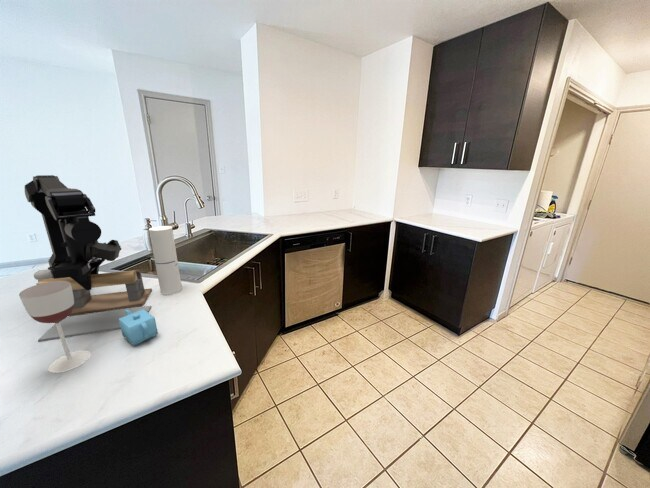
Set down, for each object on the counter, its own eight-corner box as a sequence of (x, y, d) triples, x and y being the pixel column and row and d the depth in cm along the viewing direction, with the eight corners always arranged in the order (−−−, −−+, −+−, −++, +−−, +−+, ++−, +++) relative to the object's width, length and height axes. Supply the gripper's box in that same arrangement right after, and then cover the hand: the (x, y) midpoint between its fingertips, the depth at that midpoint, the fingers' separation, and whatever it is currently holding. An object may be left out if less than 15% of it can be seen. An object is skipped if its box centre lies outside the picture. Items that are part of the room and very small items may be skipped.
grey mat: (62, 319, 79) (61, 317, 79) (151, 307, 87) (151, 305, 87) (38, 341, 70) (37, 339, 69) (141, 325, 77) (141, 323, 77)
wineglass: (53, 379, 58) (24, 301, 52) (42, 363, 62) (14, 290, 56) (97, 358, 64) (76, 287, 58) (84, 345, 69) (63, 277, 63)
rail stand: (80, 299, 91) (73, 273, 88) (152, 290, 98) (147, 266, 95) (60, 317, 80) (51, 289, 77) (142, 306, 88) (136, 279, 85)
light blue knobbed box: (118, 333, 74) (112, 311, 71) (142, 323, 78) (137, 302, 76) (136, 350, 67) (130, 326, 65) (161, 338, 72) (156, 315, 70)
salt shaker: (50, 311, 83) (37, 275, 79) (36, 309, 84) (23, 273, 80) (70, 302, 89) (59, 268, 85) (57, 300, 90) (46, 266, 86)
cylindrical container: (156, 292, 97) (144, 229, 90) (173, 284, 103) (163, 225, 96) (169, 296, 95) (158, 231, 87) (186, 288, 101) (176, 227, 93)
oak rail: (46, 288, 73) (43, 279, 72) (137, 279, 80) (135, 270, 79) (39, 293, 70) (36, 283, 69) (134, 283, 77) (132, 274, 76)
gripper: (98, 243, 65) (111, 298, 69) (125, 227, 81) (134, 272, 86) (40, 247, 61) (59, 305, 66) (81, 229, 78) (94, 276, 82)
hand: (91, 287), depth 75 cm, fingers closed on oak rail, 3 cm apart
